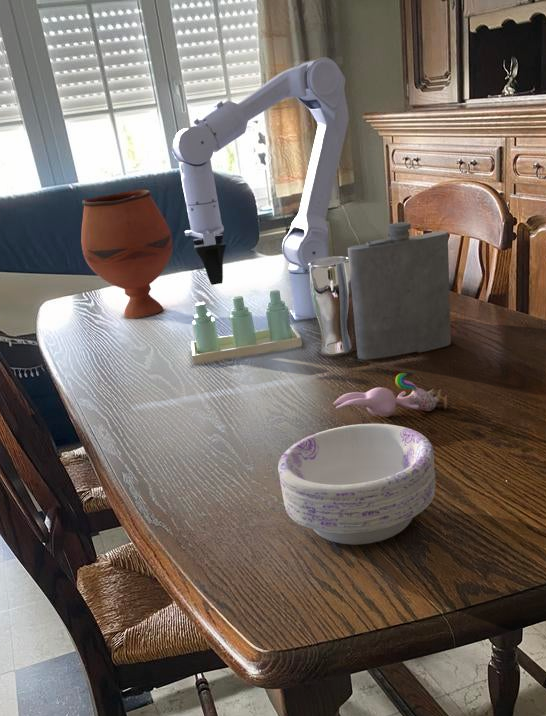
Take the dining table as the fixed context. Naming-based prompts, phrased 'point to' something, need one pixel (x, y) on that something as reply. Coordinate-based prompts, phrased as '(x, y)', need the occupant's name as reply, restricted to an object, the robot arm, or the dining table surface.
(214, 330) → the loose bottle
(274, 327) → the bottle
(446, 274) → the hip flask
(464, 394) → the dining table surface
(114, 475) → the dining table surface
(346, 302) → the beer glass
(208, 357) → the tray
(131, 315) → the goblet
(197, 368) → the dining table surface
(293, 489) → the paper bowls
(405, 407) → the rabbit figure
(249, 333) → the bottle
